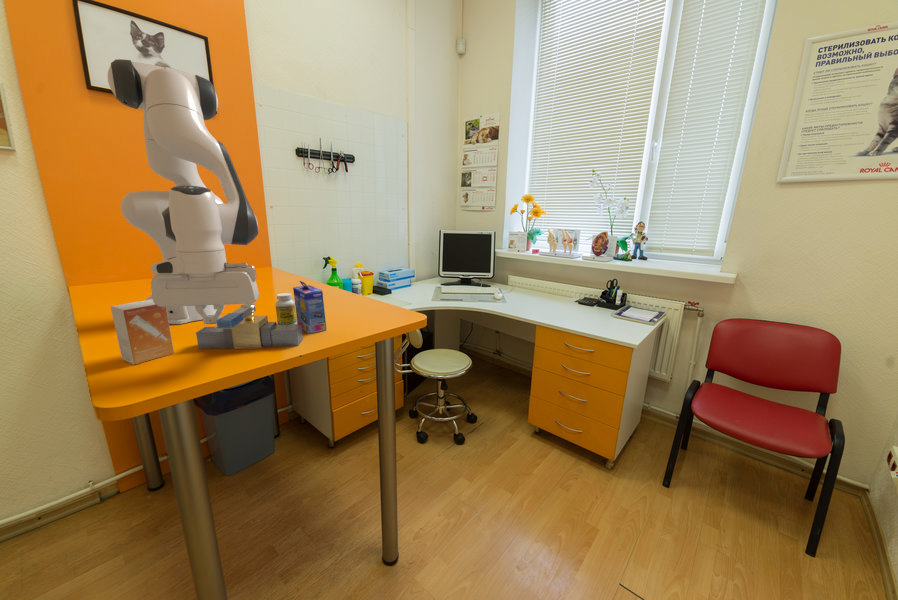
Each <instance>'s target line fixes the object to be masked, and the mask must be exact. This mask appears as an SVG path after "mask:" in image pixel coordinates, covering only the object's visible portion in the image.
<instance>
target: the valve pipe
mask: <svg viewBox="0 0 898 600" xmlns="http://www.w3.org/2000/svg"><path fill="white" fill-rule="evenodd" d="M195 335H196V340H197V346H198V349H199V350H204V349H205V350H206V349H207V350H208V349H213V350H214V349H226V350H227V349H228V350H229V349H234V350H249V349H250V350H251V349H252V350H253V349H263V348H273V347H296V346H300V344H301V343H302V341H303V338H304V337H303V329H302V325H301V324H297V323H296V324H295V325H278V323H277V321H269V318H268V315H255V312H252V313H251V314H249V315H248V316H246V317H245V318H244V319H243V321H241V322H240V323H239V324H237V325H236V326H234V327H233V328H220V329H217V326H204V327H202V328H200V329H199V330H198V331H196V332H195Z"/></svg>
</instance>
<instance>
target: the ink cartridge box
mask: <svg viewBox="0 0 898 600" xmlns="http://www.w3.org/2000/svg"><path fill="white" fill-rule="evenodd" d="M299 283H300V284H301V286H294V287H292V290H293V297H294V298H293V299H294V302H295V311H296V320H297V323H296V325H297V324H301V325H302V331H303V330H304V331H305V332H306V333H307V334H314V333H319V332H324V331H327V330H328V329H327V320H326V312H325V311H326V310H325V302H324V293H323V290H322V289H321V288H317V287H315V286H313V285H310V284H308V285H307V284H306V283H305V282H304V281H301V280H299Z"/></svg>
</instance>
